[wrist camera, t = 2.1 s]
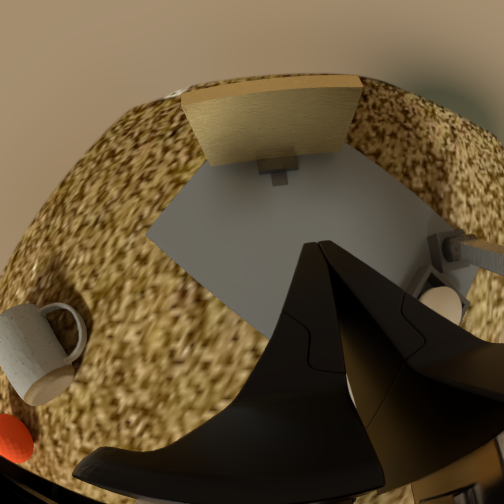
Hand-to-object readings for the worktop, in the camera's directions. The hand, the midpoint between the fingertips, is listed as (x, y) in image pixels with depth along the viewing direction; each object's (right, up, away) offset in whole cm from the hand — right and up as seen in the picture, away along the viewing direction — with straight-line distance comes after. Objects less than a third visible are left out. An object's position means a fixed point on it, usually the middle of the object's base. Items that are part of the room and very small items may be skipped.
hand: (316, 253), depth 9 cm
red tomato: (-33, -24, +13) cm, 42 cm away
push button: (+11, -4, +8) cm, 15 cm away
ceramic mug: (-22, -10, +14) cm, 28 cm away
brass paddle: (0, +7, +13) cm, 15 cm away
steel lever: (+13, 0, +8) cm, 15 cm away
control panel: (+4, 0, +13) cm, 14 cm away
